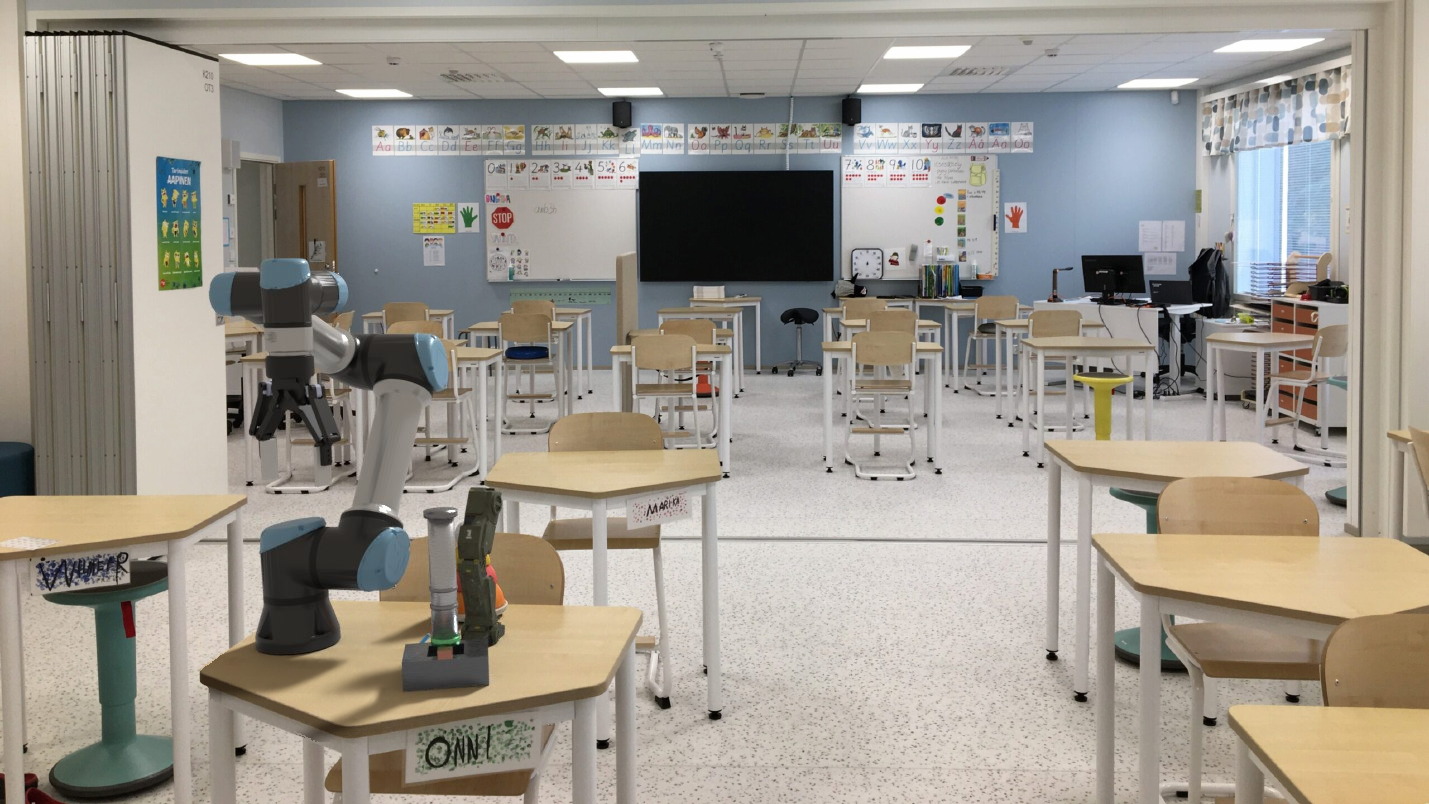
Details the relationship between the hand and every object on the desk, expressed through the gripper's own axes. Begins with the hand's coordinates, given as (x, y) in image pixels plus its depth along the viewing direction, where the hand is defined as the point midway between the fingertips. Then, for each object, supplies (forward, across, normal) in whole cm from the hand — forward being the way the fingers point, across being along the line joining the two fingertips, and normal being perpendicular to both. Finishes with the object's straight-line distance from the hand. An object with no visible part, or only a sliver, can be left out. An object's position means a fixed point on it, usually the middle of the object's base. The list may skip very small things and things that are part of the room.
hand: (296, 482), depth 191 cm
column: (+29, +18, +14) cm, 37 cm away
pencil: (+35, +1, +23) cm, 42 cm away
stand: (+35, +18, +14) cm, 42 cm away
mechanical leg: (+35, +8, +33) cm, 49 cm away
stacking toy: (+35, -5, +44) cm, 56 cm away
